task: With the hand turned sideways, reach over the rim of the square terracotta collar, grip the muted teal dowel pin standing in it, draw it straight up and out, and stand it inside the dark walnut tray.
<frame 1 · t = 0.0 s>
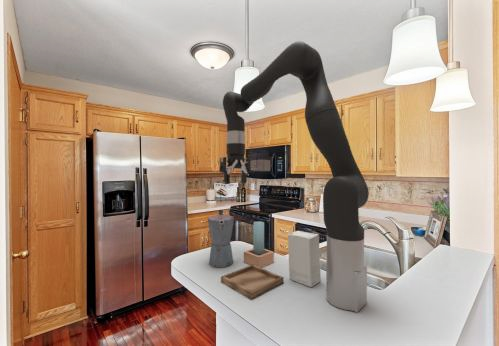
hand: (235, 183, 95), 29 cm above the counter, tool pointing down, fingers open, 8 cm apart
square terracotta collar: (258, 262, 89), on the counter
dowel pin: (258, 242, 89), in the square terracotta collar
tray: (252, 282, 73), on the counter
moka pot: (220, 263, 89), on the counter
skincare box: (303, 281, 75), on the counter
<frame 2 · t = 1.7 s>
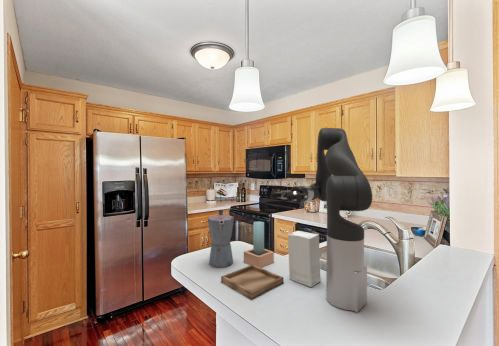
hand: (279, 197, 97), 24 cm above the counter, tool horizontal, fingers open, 8 cm apart
nothing on the counter moved.
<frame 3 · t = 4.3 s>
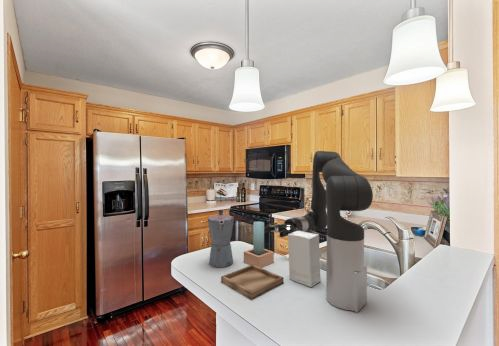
hand: (271, 232, 94), 10 cm above the counter, tool horizontal, fingers open, 8 cm apart
nothing on the counter moved.
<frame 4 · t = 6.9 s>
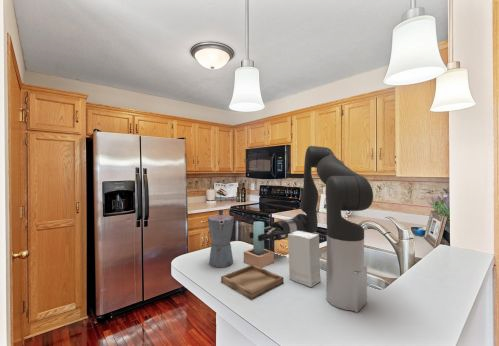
hand: (254, 237, 87), 10 cm above the counter, tool horizontal, fingers closed on dowel pin, 4 cm apart
dowel pin: (258, 242, 89), in the square terracotta collar, touching gripper
everything else where it was.
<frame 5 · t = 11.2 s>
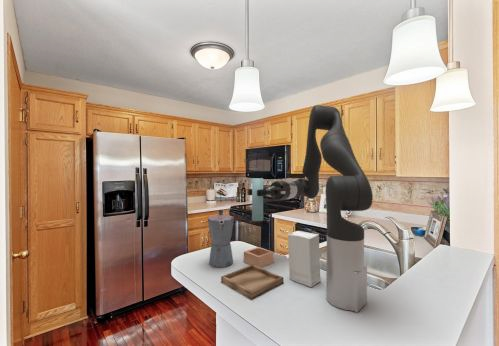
hand: (253, 192, 83), 27 cm above the counter, tool horizontal, fingers closed on dowel pin, 4 cm apart
dowel pin: (257, 199, 85), point 24 cm above the counter, touching gripper
everything else where it was.
when the fingers open (12 cm above the counter, at t = 15.3 s): dowel pin drops 1 cm, resting on tray.
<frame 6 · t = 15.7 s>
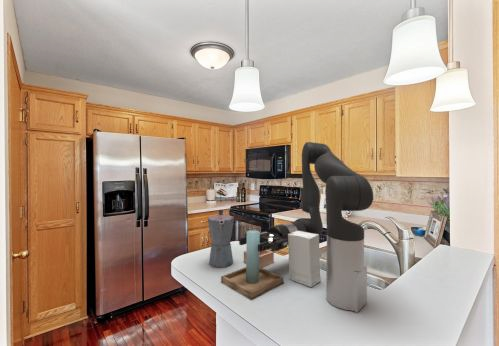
hand: (248, 244, 72), 12 cm above the counter, tool horizontal, fingers open, 8 cm apart
dowel pin: (252, 256, 73), in the tray, point 8 cm above the counter
everything else where it was.
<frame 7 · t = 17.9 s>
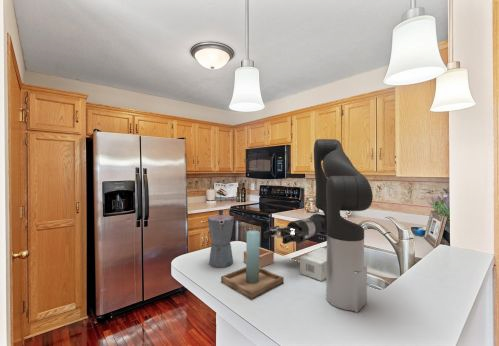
hand: (273, 237, 80), 12 cm above the counter, tool horizontal, fingers open, 8 cm apart
skincare box: (309, 268, 77), point 3 cm above the counter
everything else where it was.
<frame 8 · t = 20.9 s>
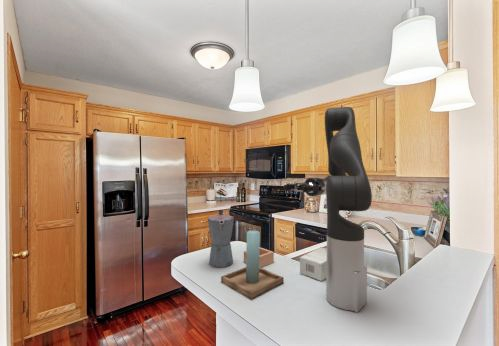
hand: (293, 188, 87), 28 cm above the counter, tool horizontal, fingers open, 8 cm apart
nothing on the counter moved.
at the end: dowel pin inside the target area on the tray (0.1 cm from its centre), point 8.1 cm above the tray's base; dowel pin tilted 1°; the gripper is holding nothing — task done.
